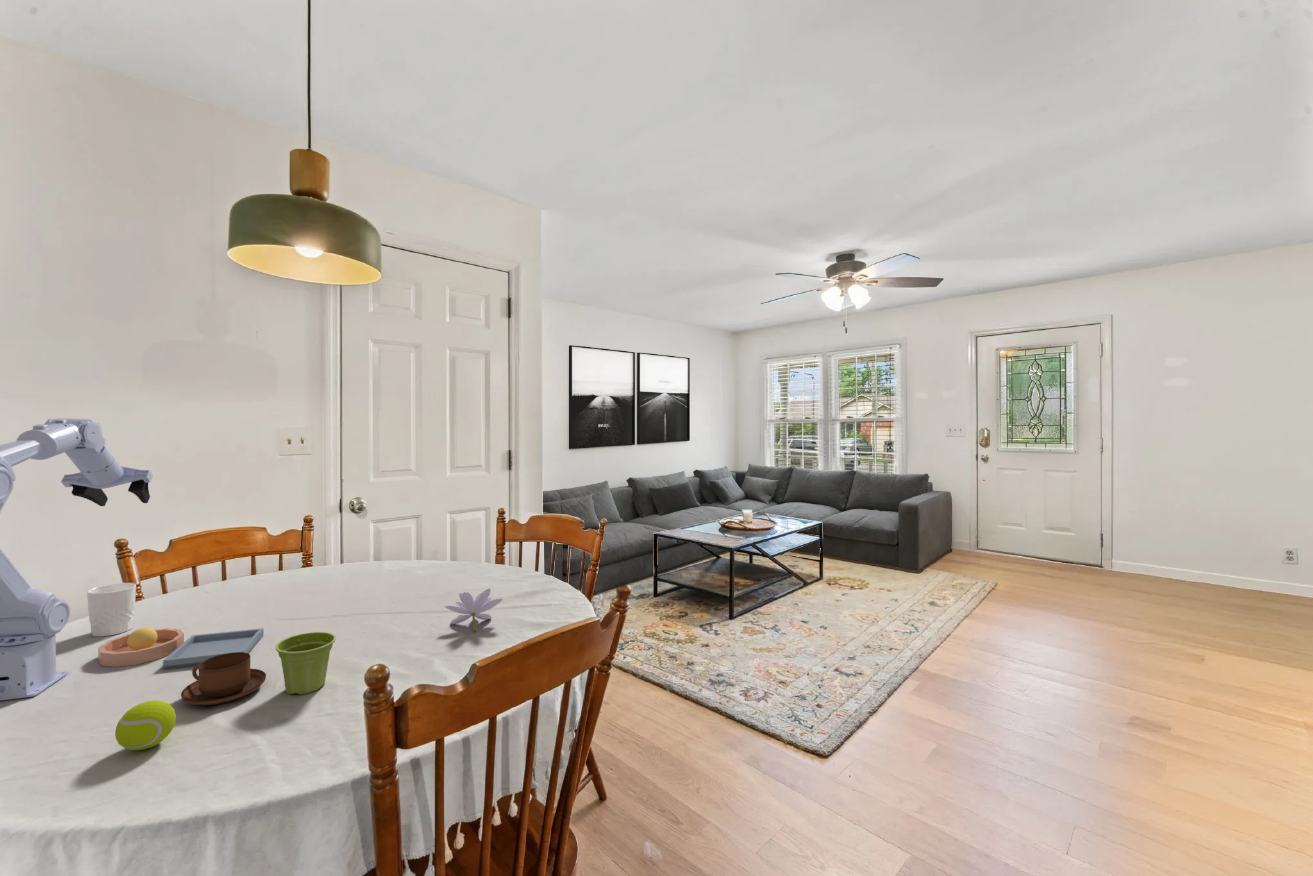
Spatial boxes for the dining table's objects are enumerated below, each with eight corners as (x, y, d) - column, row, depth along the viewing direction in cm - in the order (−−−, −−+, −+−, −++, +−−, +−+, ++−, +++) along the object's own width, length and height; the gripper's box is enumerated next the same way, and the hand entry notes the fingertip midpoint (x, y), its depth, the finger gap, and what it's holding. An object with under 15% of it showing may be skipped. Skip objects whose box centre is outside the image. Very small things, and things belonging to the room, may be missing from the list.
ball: (150, 652, 111) (150, 630, 111) (122, 655, 109) (122, 633, 109) (161, 644, 115) (161, 622, 115) (134, 646, 114) (134, 625, 114)
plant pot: (324, 670, 107) (324, 627, 106) (343, 686, 101) (343, 640, 100) (268, 688, 99) (268, 641, 99) (285, 706, 93) (285, 657, 93)
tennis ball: (110, 766, 77) (109, 720, 76) (120, 742, 82) (120, 700, 82) (172, 750, 81) (172, 706, 80) (178, 728, 86) (178, 687, 86)
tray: (243, 660, 110) (243, 651, 110) (163, 669, 105) (163, 660, 105) (263, 635, 122) (263, 628, 122) (192, 643, 117) (192, 635, 117)
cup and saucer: (165, 716, 90) (164, 680, 90) (203, 682, 101) (203, 650, 101) (249, 707, 93) (249, 672, 93) (276, 675, 105) (276, 644, 104)
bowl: (165, 661, 109) (165, 648, 109) (84, 670, 104) (83, 657, 104) (193, 637, 121) (193, 625, 120) (120, 644, 116) (120, 632, 116)
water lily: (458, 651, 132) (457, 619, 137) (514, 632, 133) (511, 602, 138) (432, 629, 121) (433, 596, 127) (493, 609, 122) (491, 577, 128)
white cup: (105, 639, 118) (104, 594, 118) (77, 635, 120) (77, 591, 119) (145, 626, 126) (145, 584, 126) (119, 623, 128) (119, 581, 127)
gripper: (145, 446, 119) (170, 485, 128) (59, 450, 114) (91, 490, 123) (134, 471, 115) (161, 508, 124) (44, 476, 110) (79, 515, 119)
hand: (125, 501), depth 123 cm, fingers open, 7 cm apart
